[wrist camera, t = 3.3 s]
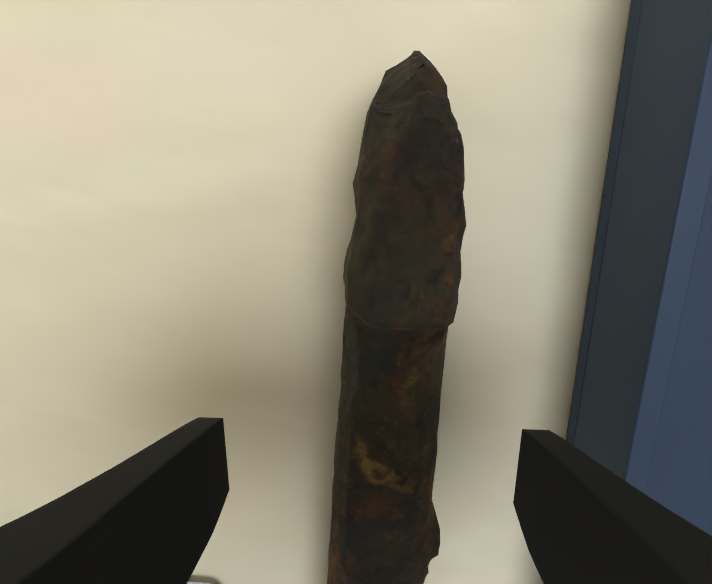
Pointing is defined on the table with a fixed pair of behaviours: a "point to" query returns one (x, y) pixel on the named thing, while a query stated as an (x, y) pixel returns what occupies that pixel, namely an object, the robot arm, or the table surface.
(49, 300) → the table surface
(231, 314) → the table surface
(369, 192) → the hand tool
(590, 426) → the desk tray
